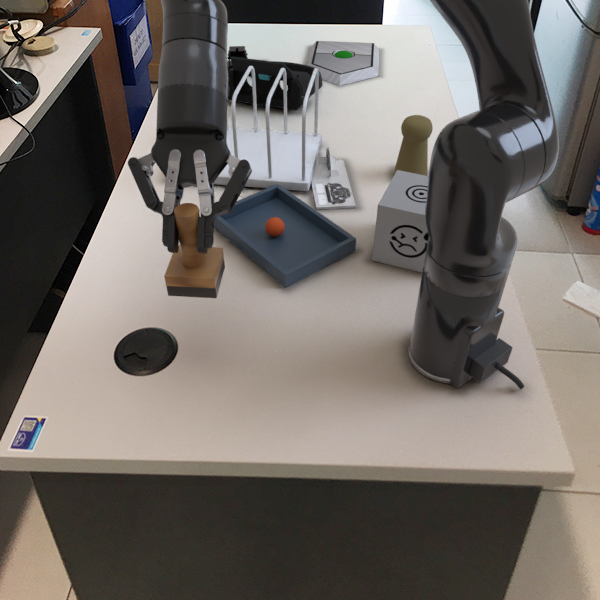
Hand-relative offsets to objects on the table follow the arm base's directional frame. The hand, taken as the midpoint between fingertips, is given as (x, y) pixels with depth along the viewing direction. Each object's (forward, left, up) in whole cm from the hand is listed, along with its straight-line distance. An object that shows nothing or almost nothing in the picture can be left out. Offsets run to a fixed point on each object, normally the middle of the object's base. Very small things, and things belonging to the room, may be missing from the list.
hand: (187, 251), depth 68 cm
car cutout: (+21, -40, -18) cm, 48 cm away
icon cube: (0, -37, -18) cm, 42 cm away
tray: (+15, -23, -18) cm, 33 cm away
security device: (+59, -75, -18) cm, 97 cm away
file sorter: (+36, -33, -18) cm, 52 cm away
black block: (+73, -56, -18) cm, 93 cm away
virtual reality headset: (+56, -54, -18) cm, 80 cm away
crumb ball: (+15, -23, -16) cm, 32 cm away
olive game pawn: (+15, -52, -18) cm, 57 cm away
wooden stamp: (+2, -1, -6) cm, 6 cm away
